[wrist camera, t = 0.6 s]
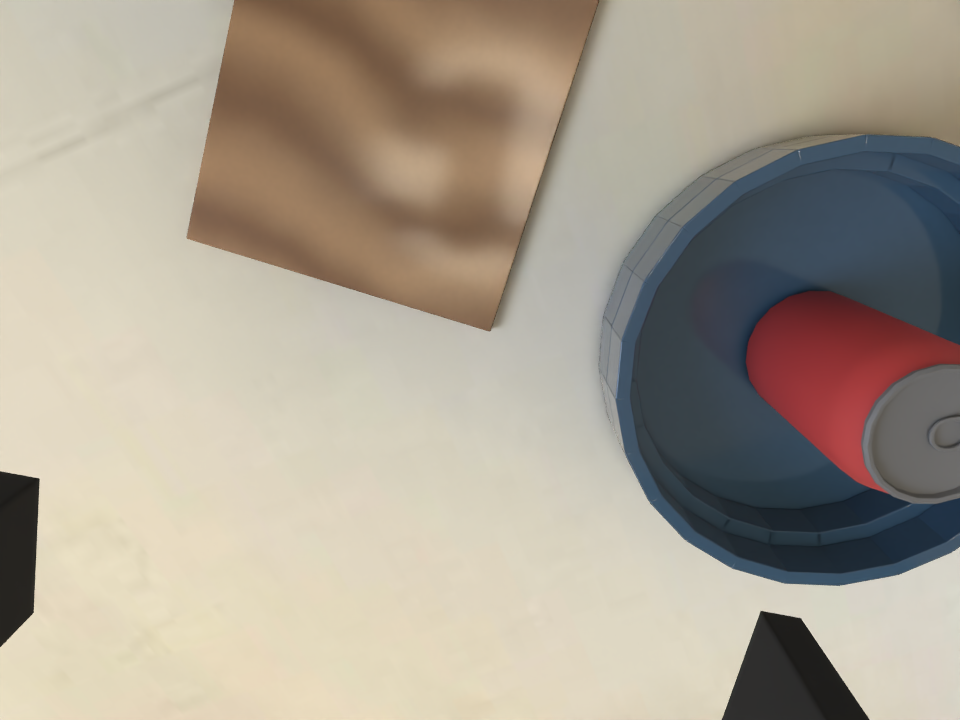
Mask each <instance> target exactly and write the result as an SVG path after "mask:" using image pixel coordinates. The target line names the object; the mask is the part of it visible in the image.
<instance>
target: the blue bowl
mask: <svg viewBox="0 0 960 720" xmlns="http://www.w3.org/2000/svg"><path fill="white" fill-rule="evenodd" d="M807 291H830V292H833V293H836V294H839V295H842V296H844V297H847V298H850V299H852V300H854V301H857V302H859V303H861V304H864V305H866V306H868V307H871V308H873V309H876V310H878V311H880V312H883V313H885V314H887V315H890V316H892V317H894V318H897V319H899V320H901V321H904V322H906V323H909V324H911V325H913V326H916V327H918V328H920V329H923V330H925V331H927V332H930V333H932V334H934V335H937V336H939V337H941V338H944V339H946V340H949V341H951V342H953V343H956V344H958V345H960V147H959V146H956V145H954V144H951V143H948V142H945V141H942V140H939V139H936V138H931V137H918V136H897V135H875V134H852V135H814V136H808V137H803V138H799V139H794V140H790V141H786V142H781V143H777V144H772V145H768V146H763V147H759V148H756V149H753V150H751V151H749V152H747V153H745V154H743V155H741V156H739V157H737V158H735V159H733V160H731V161H729V162H727V163H725V164H723V165H721V166H719V167H717V168H715V169H714V170H712V171H710V172H708V173H706V174H704V175H702V176H701V177H699V178H698V179H697V180H696V181H695V182H693V183H692V184H691V185H690V186H689V187H688V188H687V189H685V190H684V191H683V192H682V193H681V194H680V195H679V196H677V197H676V198H675V199H674V200H673V201H672V202H671V203H669V204H668V205H667V206H666V207H665V208H664V209H663V210H661V211H660V212H659V213H658V214H657V215H656V216H655V217H654V219H653V220H652V222H651V223H650V224H649V226H648V227H647V229H646V230H645V232H644V233H643V235H642V236H641V237H640V239H639V240H638V242H637V243H636V245H635V246H634V247H633V249H632V250H631V252H630V253H629V255H628V256H627V258H626V259H625V260H624V262H623V265H622V267H621V269H620V272H619V275H618V277H617V280H616V283H615V286H614V288H613V291H612V294H611V296H610V299H609V302H608V304H607V307H606V310H605V312H604V316H603V325H602V336H601V347H600V358H599V372H600V377H601V383H602V388H603V394H604V399H605V404H606V410H607V415H608V418H609V420H610V422H611V424H612V427H613V429H614V431H615V433H616V435H617V438H618V440H619V442H620V444H621V446H622V449H623V451H624V453H625V455H626V457H627V459H628V461H629V463H630V465H631V467H632V469H633V471H634V473H635V475H636V477H637V479H638V481H639V483H640V485H641V487H642V489H643V491H644V493H645V495H646V497H647V499H648V501H649V502H650V503H651V505H652V506H653V507H654V508H655V509H656V510H657V511H658V512H659V513H660V514H661V515H662V516H663V517H664V518H665V519H666V521H667V522H668V523H669V524H670V525H671V526H672V527H673V528H674V529H675V530H676V531H677V532H678V533H679V534H680V535H681V536H682V538H683V539H685V540H686V541H687V542H689V543H690V544H692V545H694V546H695V547H697V548H699V549H700V550H702V551H704V552H705V553H707V554H709V555H710V556H712V557H714V558H715V559H717V560H719V561H720V562H722V563H724V564H725V565H727V566H729V567H731V568H732V569H736V570H739V571H743V572H746V573H750V574H753V575H757V576H760V577H764V578H767V579H771V580H774V581H778V582H781V583H785V584H809V585H833V586H840V585H846V584H852V583H857V582H862V581H868V580H873V579H879V578H884V577H889V576H895V575H899V574H902V573H904V572H906V571H909V570H911V569H914V568H916V567H918V566H921V565H923V564H925V563H928V562H930V561H933V560H935V559H937V558H940V557H942V556H945V555H947V554H949V553H952V551H955V550H956V549H958V548H959V547H960V498H958V499H954V500H950V501H946V502H942V503H938V504H913V503H910V502H907V501H904V500H901V499H898V498H895V497H893V496H891V495H890V494H887V493H884V492H881V491H878V490H875V489H872V488H870V487H867V486H865V485H862V484H860V483H858V482H856V481H855V480H854V479H852V478H851V477H850V476H848V475H847V474H846V473H845V472H843V471H842V470H841V469H839V468H838V467H837V466H836V465H835V464H834V463H833V462H832V461H831V460H830V459H828V458H827V457H826V456H825V455H824V454H823V453H822V452H821V451H820V450H819V449H817V448H816V447H815V446H814V445H813V444H812V443H811V442H810V441H809V440H808V439H807V438H805V437H804V436H803V435H802V434H801V433H800V432H799V431H798V430H797V429H796V428H795V427H793V426H792V425H791V424H790V423H789V422H788V421H787V420H786V419H785V418H784V417H782V416H781V415H780V414H779V413H778V412H777V411H776V410H775V409H774V408H773V407H772V406H770V405H769V404H768V403H767V402H766V401H765V400H764V399H763V398H762V397H761V396H760V395H759V394H758V393H757V391H756V389H755V388H754V386H753V385H752V383H751V381H750V380H749V375H748V370H747V365H746V355H747V347H748V341H749V339H750V337H751V335H752V333H753V331H754V328H755V326H756V324H757V323H758V322H759V321H760V319H761V318H762V317H763V316H764V315H765V314H766V313H767V312H768V310H769V309H770V308H772V307H773V306H775V305H776V304H778V303H780V302H781V301H783V300H784V299H786V298H787V297H789V296H793V295H796V294H800V293H803V292H807Z"/></svg>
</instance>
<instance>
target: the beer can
mask: <svg viewBox="0 0 960 720" xmlns="http://www.w3.org/2000/svg"><path fill="white" fill-rule="evenodd" d="M746 365H747V370H748V375H749V380H750V381H751V383H752V385H753V386H754V388H755V389H756V391H757V393H758V394H759V395H760V396H761V397H762V398H763V399H764V400H765V401H766V402H767V403H768V404H769V405H770V406H772V407H773V408H774V409H775V410H776V411H777V412H778V413H779V414H780V415H781V416H782V417H784V418H785V419H786V420H787V421H788V422H789V423H790V424H791V425H792V426H793V427H795V428H796V429H797V430H798V431H799V432H800V433H801V434H802V435H803V436H804V437H805V438H807V439H808V440H809V441H810V442H811V443H812V444H813V445H814V446H815V447H816V448H817V449H819V450H820V451H821V452H822V453H823V454H824V455H825V456H826V457H827V458H828V459H830V460H831V461H832V462H833V463H834V464H835V465H836V466H837V467H838V468H839V469H841V470H842V471H843V472H845V473H846V474H847V475H848V476H850V477H851V478H852V479H854V480H855V481H856V482H858V483H860V484H862V485H865V486H867V487H870V488H872V489H875V490H878V491H881V492H884V493H887V494H890V495H891V496H893V497H895V498H898V499H901V500H904V501H907V502H910V503H913V504H938V503H942V502H946V501H950V500H954V499H958V498H960V345H958V344H956V343H953V342H951V341H949V340H946V339H944V338H941V337H939V336H937V335H934V334H932V333H930V332H927V331H925V330H923V329H920V328H918V327H916V326H913V325H911V324H909V323H906V322H904V321H901V320H899V319H897V318H894V317H892V316H890V315H887V314H885V313H883V312H880V311H878V310H876V309H873V308H871V307H868V306H866V305H864V304H861V303H859V302H857V301H854V300H852V299H850V298H847V297H844V296H842V295H839V294H836V293H833V292H830V291H807V292H803V293H800V294H796V295H793V296H789V297H787V298H786V299H784V300H783V301H781V302H780V303H778V304H776V305H775V306H773V307H772V308H770V309H769V310H768V312H767V313H766V314H765V315H764V316H763V317H762V318H761V319H760V321H759V322H758V323H757V324H756V326H755V328H754V331H753V333H752V335H751V337H750V339H749V341H748V347H747V355H746Z"/></svg>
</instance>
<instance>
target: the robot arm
mask: <svg viewBox="0 0 960 720" xmlns="http://www.w3.org/2000/svg"><path fill="white" fill-rule="evenodd" d="M38 501H39V478H33V477H28V476H22V475H17V474H11V473H6V472H1V471H0V647H1V646H2V645H3V644H4V643H5V642H6V641H7V640H8V639H9V638H10V637H11V636H12V635H13V633H14V632H15V631H16V630H17V629H18V628H19V627H20V626H21V625H22V624H23V623H24V622H25V621H26V620H27V619H28V618H29V617H30V616H31V615H32V614H33V613H34V590H35V568H36V545H37V523H38ZM722 720H869V718H868V717H867V715H866V714H865V712H864V711H863V709H862V708H861V707H860V705H859V704H858V702H857V701H856V699H855V698H854V696H853V695H852V693H851V692H850V690H849V689H848V687H847V686H846V684H845V683H844V681H843V680H842V678H841V677H840V676H839V674H838V673H837V671H836V670H835V668H834V667H833V665H832V664H831V662H830V661H829V659H828V658H827V656H826V655H825V653H824V652H823V650H822V649H821V647H820V646H819V645H818V643H817V642H816V640H815V639H814V637H813V636H812V634H811V633H810V631H809V630H808V628H807V627H806V625H805V624H804V622H803V621H802V619H801V618H796V617H791V616H785V615H780V614H774V613H769V612H764V611H761V612H760V615H759V618H758V620H757V623H756V626H755V629H754V632H753V634H752V637H751V640H750V643H749V646H748V648H747V651H746V654H745V657H744V660H743V662H742V665H741V668H740V671H739V674H738V676H737V679H736V682H735V685H734V688H733V690H732V693H731V696H730V699H729V702H728V704H727V707H726V710H725V713H724V716H723V718H722Z"/></svg>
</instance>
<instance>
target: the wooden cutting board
mask: <svg viewBox="0 0 960 720" xmlns="http://www.w3.org/2000/svg"><path fill="white" fill-rule="evenodd" d="M598 3H599V0H234V5H233V10H232V15H231V20H230V25H229V30H228V35H227V39H226V44H225V49H224V54H223V59H222V64H221V69H220V74H219V79H218V84H217V89H216V94H215V99H214V104H213V109H212V114H211V119H210V124H209V129H208V134H207V139H206V144H205V149H204V154H203V159H202V163H201V168H200V173H199V178H198V183H197V188H196V193H195V198H194V203H193V208H192V213H191V218H190V223H189V228H188V233H187V239H190V240H193V241H197V242H200V243H203V244H206V245H210V246H213V247H216V248H219V249H223V250H226V251H229V252H232V253H236V254H239V255H242V256H245V257H249V258H252V259H255V260H258V261H262V262H265V263H268V264H271V265H275V266H278V267H281V268H284V269H288V270H291V271H294V272H298V273H301V274H304V275H307V276H311V277H314V278H317V279H320V280H324V281H327V282H330V283H333V284H337V285H340V286H343V287H346V288H350V289H353V290H356V291H359V292H363V293H366V294H369V295H372V296H376V297H379V298H382V299H385V300H389V301H392V302H395V303H398V304H402V305H405V306H408V307H411V308H415V309H418V310H421V311H425V312H428V313H431V314H434V315H438V316H441V317H444V318H447V319H451V320H454V321H457V322H460V323H464V324H467V325H470V326H473V327H477V328H480V329H483V330H486V331H491V328H492V325H493V322H494V319H495V316H496V313H497V310H498V307H499V304H500V301H501V298H502V295H503V292H504V289H505V286H506V283H507V280H508V277H509V274H510V271H511V267H512V264H513V261H514V258H515V255H516V252H517V249H518V246H519V243H520V240H521V237H522V234H523V231H524V228H525V225H526V222H527V219H528V216H529V213H530V210H531V207H532V204H533V201H534V198H535V195H536V192H537V188H538V185H539V182H540V179H541V176H542V173H543V170H544V167H545V164H546V161H547V158H548V155H549V152H550V149H551V146H552V143H553V140H554V137H555V134H556V131H557V128H558V125H559V122H560V119H561V116H562V112H563V109H564V106H565V103H566V100H567V97H568V94H569V91H570V88H571V85H572V82H573V79H574V76H575V73H576V70H577V67H578V64H579V61H580V58H581V55H582V52H583V49H584V46H585V43H586V40H587V36H588V33H589V30H590V27H591V24H592V21H593V18H594V15H595V12H596V9H597V6H598Z"/></svg>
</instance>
